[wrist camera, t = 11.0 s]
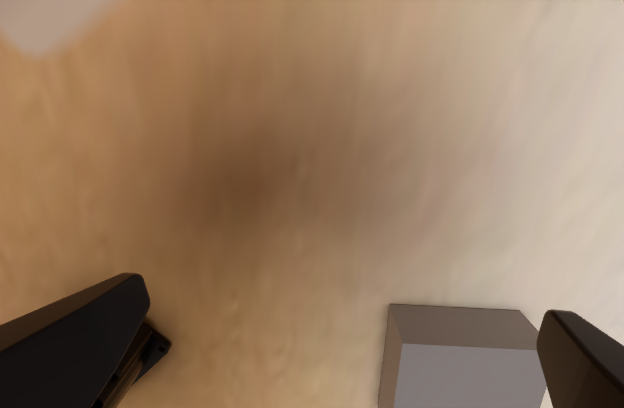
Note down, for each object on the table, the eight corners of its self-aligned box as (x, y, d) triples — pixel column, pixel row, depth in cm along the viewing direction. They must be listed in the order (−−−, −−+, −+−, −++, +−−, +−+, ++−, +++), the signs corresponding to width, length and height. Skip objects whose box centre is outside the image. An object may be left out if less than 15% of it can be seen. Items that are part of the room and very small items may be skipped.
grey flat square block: (377, 403, 26) (386, 454, 23) (389, 303, 24) (402, 343, 20) (493, 409, 26) (522, 463, 22) (519, 310, 24) (557, 351, 20)
